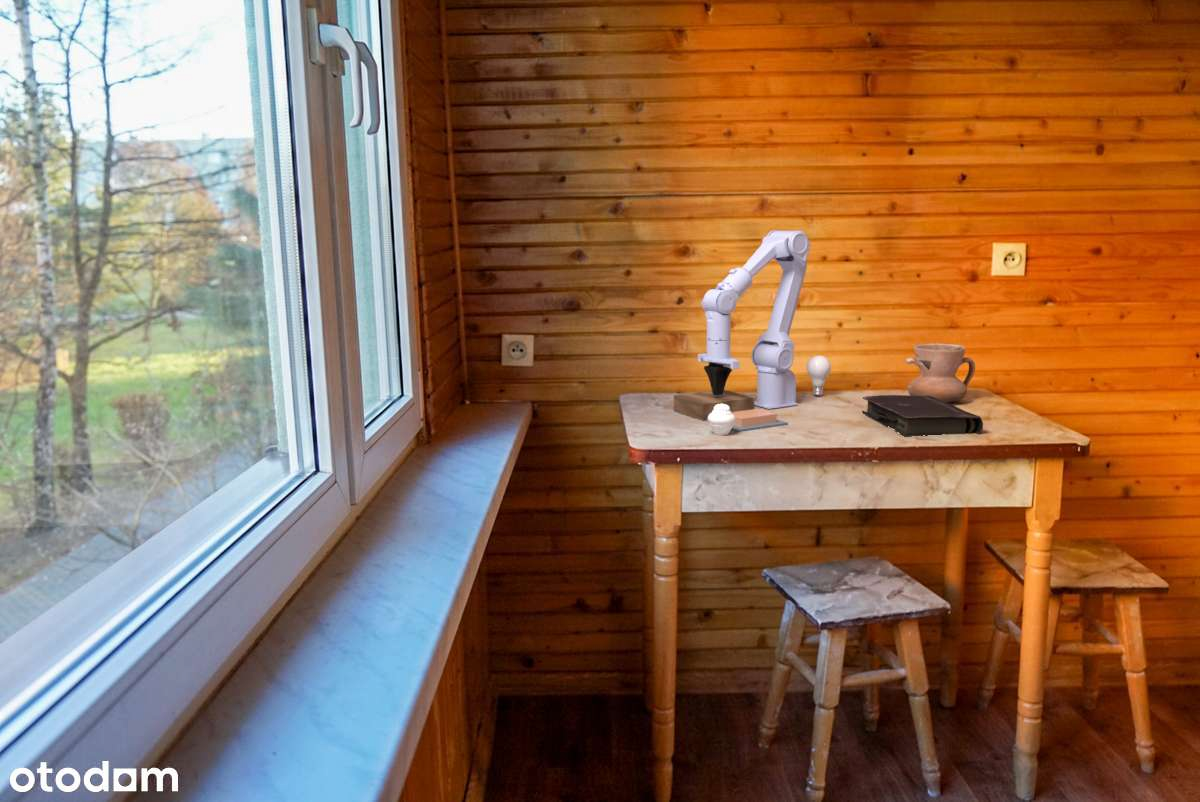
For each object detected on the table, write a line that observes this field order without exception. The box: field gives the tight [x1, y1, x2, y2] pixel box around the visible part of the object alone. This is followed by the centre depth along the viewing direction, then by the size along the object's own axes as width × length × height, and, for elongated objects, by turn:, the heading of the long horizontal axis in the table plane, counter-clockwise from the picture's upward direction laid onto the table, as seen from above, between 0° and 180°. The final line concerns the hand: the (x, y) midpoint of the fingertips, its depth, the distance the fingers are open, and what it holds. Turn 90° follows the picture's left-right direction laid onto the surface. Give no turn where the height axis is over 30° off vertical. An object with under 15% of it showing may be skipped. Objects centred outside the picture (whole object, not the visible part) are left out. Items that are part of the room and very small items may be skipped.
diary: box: [861, 394, 984, 438], centre depth 216 cm, size 19×25×5 cm
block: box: [732, 408, 778, 427], centre depth 218 cm, size 10×7×2 cm
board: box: [673, 389, 755, 422], centre depth 231 cm, size 15×13×4 cm
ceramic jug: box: [905, 343, 976, 404], centre depth 240 cm, size 18×14×14 cm
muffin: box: [707, 403, 735, 436], centre depth 208 cm, size 6×6×7 cm
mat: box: [705, 418, 789, 432], centre depth 219 cm, size 14×13×1 cm
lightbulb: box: [806, 354, 832, 397], centre depth 248 cm, size 6×6×11 cm
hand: (717, 394), depth 229 cm, fingers closed
